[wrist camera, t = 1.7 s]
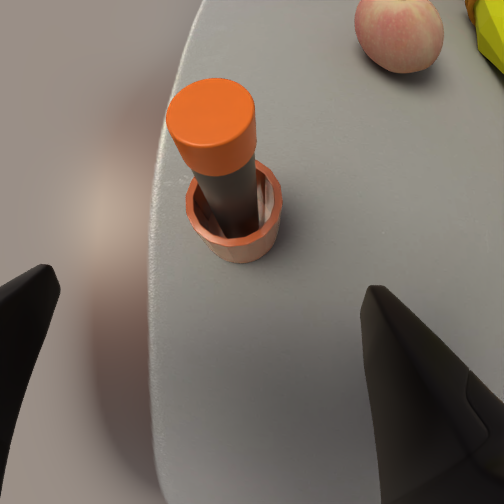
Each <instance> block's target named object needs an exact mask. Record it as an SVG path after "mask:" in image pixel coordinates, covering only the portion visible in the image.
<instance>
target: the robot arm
mask: <svg viewBox="0 0 504 504" xmlns="http://www.w3.org/2000/svg"><path fill="white" fill-rule="evenodd" d="M59 295H60V285H59V282H58V280H57V277H56V275H55V272H54V270H53V268H52V266H50V265H46V264H40V265H37V266H36V267H34V268H32V269H30V270H28V271H27V272H25V273H23V274H21V275H20V276H18V277H16V278H14V279H13V280H11V281H9V282H7V283H6V284H4V285H3V286H1V287H0V496H1V490H2V484H3V479H4V473H5V468H6V463H7V458H8V454H9V449H10V444H11V440H12V436H13V433H14V429H15V425H16V421H17V418H18V414H19V411H20V408H21V404H22V401H23V398H24V395H25V392H26V389H27V386H28V383H29V380H30V377H31V374H32V371H33V368H34V366H35V363H36V360H37V358H38V355H39V352H40V350H41V347H42V345H43V342H44V339H45V337H46V334H47V331H48V328H49V325H50V322H51V319H52V316H53V313H54V310H55V307H56V304H57V301H58V298H59ZM360 319H361V331H362V344H363V359H364V369H365V376H366V382H367V388H368V394H369V400H370V406H371V413H372V420H373V427H374V435H375V443H376V451H377V460H378V469H379V479H380V491H381V503H382V504H504V403H503V402H502V401H501V400H500V399H499V398H498V397H497V396H496V395H494V394H493V393H492V392H491V391H490V390H489V389H488V387H487V386H486V385H485V384H484V383H483V382H482V381H481V380H480V379H479V378H478V377H477V376H476V375H475V374H474V373H473V372H472V371H471V370H470V371H469V368H468V367H467V366H466V365H465V364H464V363H463V362H462V361H461V360H460V359H459V358H458V357H457V356H456V355H455V354H454V352H453V351H452V350H451V349H450V348H449V347H448V346H447V345H446V344H445V343H444V342H443V341H442V340H441V339H440V338H439V337H438V336H437V335H436V334H434V333H433V332H432V331H431V330H430V329H429V328H428V327H427V326H426V325H425V324H424V323H423V322H422V321H421V320H420V319H419V318H418V317H417V316H416V315H415V314H414V313H413V312H412V311H411V310H410V309H409V308H408V307H406V306H405V305H404V304H403V303H402V302H401V301H400V300H399V299H398V298H397V297H396V296H395V295H394V294H393V293H391V292H390V291H389V290H388V289H387V288H386V287H385V286H382V285H370V286H369V287H368V288H367V291H366V294H365V297H364V301H363V304H362V307H361V312H360Z"/></svg>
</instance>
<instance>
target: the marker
mask: <svg viewBox="0 0 504 504" xmlns="http://www.w3.org/2000/svg"><path fill="white" fill-rule="evenodd" d="M166 124H167V128H168V130H169V132H170V134H171V136H172V138H173V140H174V142H175V144H176V146H177V148H178V150H179V152H180V154H181V156H182V158H183V160H184V161H185V163H186V164H187V165H188V166H189V167H190V168H191V170H192V172H193V174H194V176H195V178H196V180H197V182H198V184H199V186H200V188H201V190H202V192H203V194H204V196H205V198H206V200H207V202H208V204H209V206H210V208H211V210H212V212H213V214H214V216H215V218H216V220H217V222H218V224H219V226H220V228H221V230H222V232H223V234H224V235H225V236H226V237H227V238H228V239H231V238H241V237H246V236H248V235H250V234H252V233H254V232H256V231H257V230H258V229H259V212H258V197H257V182H256V167H255V153H254V151H255V148H256V143H257V139H256V121H255V105H254V101H253V98H252V96H251V95H250V93H249V92H248V91H247V90H246V89H245V88H244V87H243V86H242V85H240V84H238V83H236V82H234V81H231V80H228V79H222V78H210V79H204V80H200V81H197V82H194V83H192V84H190V85H188V86H187V87H185V88H183V89H182V90H181V91H180V92H179V93H178V94H177V95H176V96H175V97H174V98H173V99H172V101H171V103H170V105H169V107H168V110H167V114H166Z"/></svg>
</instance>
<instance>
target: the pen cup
mask: <svg viewBox="0 0 504 504" xmlns="http://www.w3.org/2000/svg"><path fill="white" fill-rule="evenodd" d="M255 167H256V182H257V197H258V212H259V229H258V230H257V231H256V232H254V233H252V234H250V235H248V236H246V237H241V238H231V239H228V238H227V237H226V236H225V235H224V234H223V232H222V230H221V228H220V226H219V224H218V222H217V220H216V218H215V216H214V214H213V212H212V210H211V208H210V206H209V204H208V202H207V200H206V198H205V196H204V194H203V192H202V190H201V188H200V186H199V184H198V182H197V180H196V178H195V176H194V178H193V179H192V181H191V183H190V186H189V188H188V191H187V193H186V213H187V216H188V218H189V220H190V222H191V224H192V226H193V228H194V230H195V231H196V232H197V234H198V235H199V236H200V237H201V238H202V240H203V241H204V242H205V243H206V245H207V246H208V247H209V248H210V249H211V250H212V251H213V252H214V253H215V254H216V255H217V256H219V257H220V258H222V259H224V260H226V261H229V262H232V263H248V262H252V261H255V260H257V259H259V258H261V257H262V256H264V255H265V254H266V253H267V252H268V251H269V250H270V249H271V247H272V246H273V244H274V242H275V240H276V237H277V233H278V229H279V224H280V217H281V211H282V204H283V200H282V193H281V186H280V184H279V182H278V180H277V179H276V177H275V176H274V174H273V172H272V171H271V170H270V169H269V168H267V167H266V166H265V165H263V164H262V163H260V162H259V161H257V160H255Z"/></svg>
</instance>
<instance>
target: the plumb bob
mask: <svg viewBox="0 0 504 504" xmlns="http://www.w3.org/2000/svg"><path fill="white" fill-rule="evenodd" d="M465 5H466V9H467V12H468V16H469V18H470V20H471V22H472V23H473V25H474V26H475V27H476V33H477V43H478V50H479V51H480V52H481V53H482V54H483V55H484V56H485V57H486V58H487V59H488V60H490V61H491V62H492V63H493V64H494V65H495V66H496V67H497V68H498V69H499V70H500V71H501V72H502V73H503V74H504V0H465Z"/></svg>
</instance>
